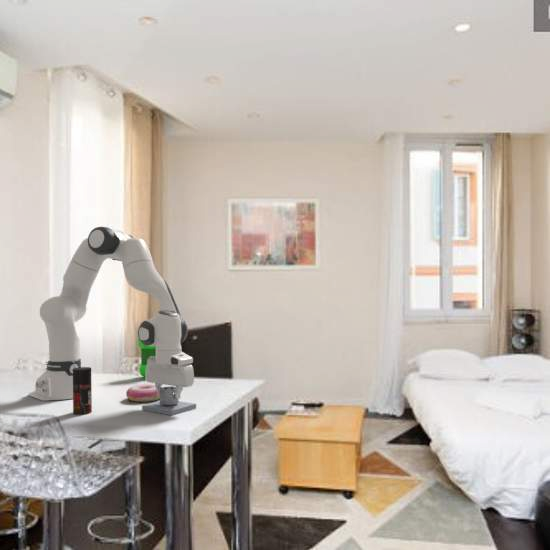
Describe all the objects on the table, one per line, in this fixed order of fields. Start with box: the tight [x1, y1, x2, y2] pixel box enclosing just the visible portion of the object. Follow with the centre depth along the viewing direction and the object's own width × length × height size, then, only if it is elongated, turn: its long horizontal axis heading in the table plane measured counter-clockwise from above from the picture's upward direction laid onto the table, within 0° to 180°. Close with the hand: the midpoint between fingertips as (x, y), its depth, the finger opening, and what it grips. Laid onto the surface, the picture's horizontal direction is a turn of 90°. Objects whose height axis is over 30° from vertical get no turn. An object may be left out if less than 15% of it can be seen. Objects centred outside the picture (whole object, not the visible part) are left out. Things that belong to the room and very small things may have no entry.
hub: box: [158, 385, 179, 405], centre depth 190 cm, size 6×6×5 cm
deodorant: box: [72, 366, 93, 416], centre depth 186 cm, size 6×6×15 cm
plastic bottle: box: [137, 338, 156, 379], centre depth 252 cm, size 10×10×25 cm
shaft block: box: [141, 400, 197, 416], centre depth 190 cm, size 14×12×6 cm
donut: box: [125, 383, 159, 403], centre depth 206 cm, size 14×13×5 cm
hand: (169, 397), depth 190 cm, fingers closed on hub, 6 cm apart
